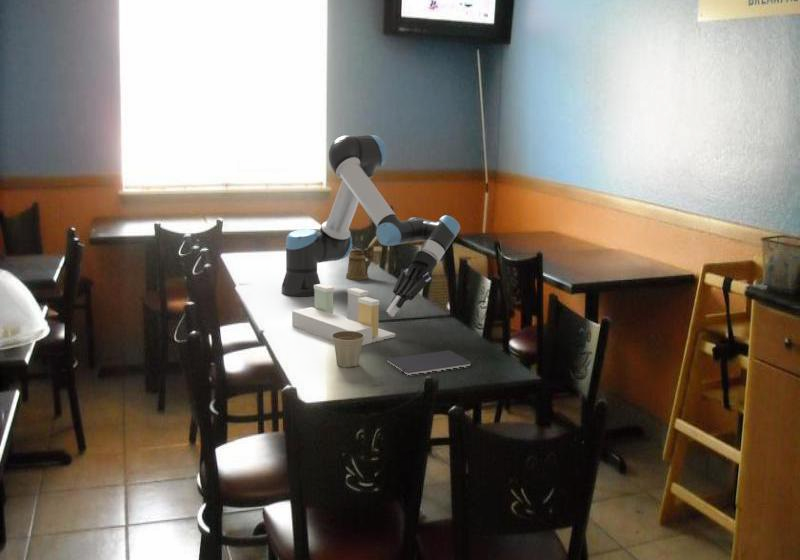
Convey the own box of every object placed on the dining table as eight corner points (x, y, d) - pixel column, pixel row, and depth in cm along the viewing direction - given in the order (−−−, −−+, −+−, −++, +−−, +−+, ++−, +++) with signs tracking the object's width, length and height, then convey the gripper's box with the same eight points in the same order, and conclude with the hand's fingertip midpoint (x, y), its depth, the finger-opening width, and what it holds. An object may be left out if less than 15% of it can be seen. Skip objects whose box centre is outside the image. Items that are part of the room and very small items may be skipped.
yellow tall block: (365, 330, 260) (366, 296, 257) (378, 335, 255) (379, 300, 253) (357, 332, 258) (357, 298, 255) (370, 337, 253) (371, 302, 251)
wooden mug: (379, 280, 336) (381, 236, 331) (347, 280, 333) (347, 236, 329) (377, 275, 344) (378, 233, 340) (345, 275, 342) (345, 232, 338)
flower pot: (331, 358, 237) (331, 330, 235) (363, 359, 237) (364, 330, 236) (331, 369, 228) (331, 340, 226) (364, 369, 228) (365, 340, 226)
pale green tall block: (321, 315, 275) (321, 283, 273) (333, 319, 271) (334, 287, 268) (313, 317, 273) (313, 284, 270) (325, 321, 268) (326, 288, 266)
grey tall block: (354, 320, 271) (355, 287, 268) (367, 324, 267) (368, 291, 264) (346, 322, 269) (347, 289, 266) (359, 326, 264) (360, 292, 262)
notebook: (449, 355, 245) (386, 363, 236) (450, 350, 245) (386, 358, 235) (472, 368, 234) (406, 377, 225) (472, 362, 234) (407, 372, 224)
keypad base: (334, 316, 280) (334, 302, 279) (395, 336, 260) (395, 321, 258) (292, 325, 268) (292, 310, 267) (352, 347, 247) (352, 331, 246)
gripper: (447, 267, 267) (409, 325, 259) (419, 260, 276) (382, 316, 269) (437, 253, 262) (397, 311, 255) (409, 246, 271) (370, 303, 264)
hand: (389, 314), depth 262 cm, fingers closed
